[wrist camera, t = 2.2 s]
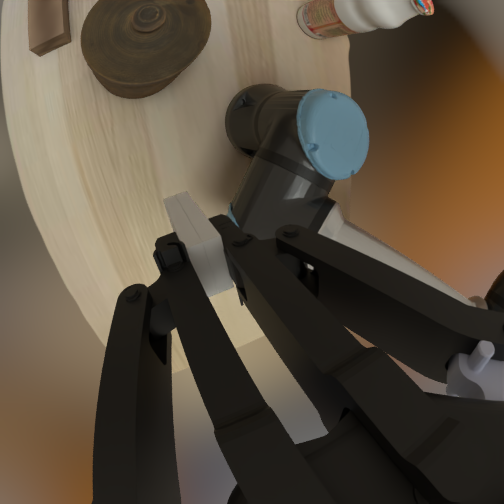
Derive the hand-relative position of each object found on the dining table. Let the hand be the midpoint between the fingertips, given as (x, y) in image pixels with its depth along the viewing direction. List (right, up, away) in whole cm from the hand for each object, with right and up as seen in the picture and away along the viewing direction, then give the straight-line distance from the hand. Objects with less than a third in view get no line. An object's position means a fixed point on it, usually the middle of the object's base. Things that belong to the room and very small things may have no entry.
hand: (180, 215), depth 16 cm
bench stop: (-30, +40, +2) cm, 50 cm away
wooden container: (-14, +30, +17) cm, 37 cm away
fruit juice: (+17, +46, +23) cm, 55 cm away
